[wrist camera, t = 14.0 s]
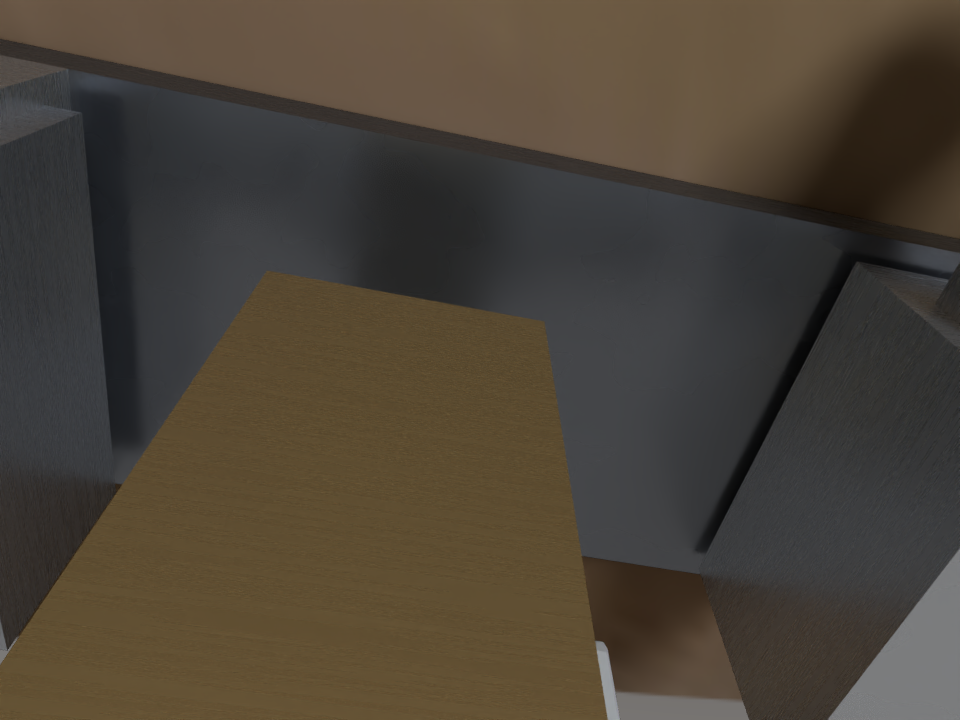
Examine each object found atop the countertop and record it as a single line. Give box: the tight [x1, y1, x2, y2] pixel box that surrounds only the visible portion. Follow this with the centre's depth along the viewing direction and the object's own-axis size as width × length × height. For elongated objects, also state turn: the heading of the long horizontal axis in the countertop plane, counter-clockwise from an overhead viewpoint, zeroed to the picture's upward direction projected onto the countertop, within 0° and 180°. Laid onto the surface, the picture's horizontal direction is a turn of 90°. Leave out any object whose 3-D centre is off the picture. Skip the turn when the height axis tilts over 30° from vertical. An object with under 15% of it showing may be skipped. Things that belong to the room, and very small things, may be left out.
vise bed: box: [0, 39, 960, 650], centre depth 14 cm, size 25×10×7 cm, turn 79°
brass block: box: [0, 270, 608, 720], centre depth 9 cm, size 4×8×7 cm, turn 169°
